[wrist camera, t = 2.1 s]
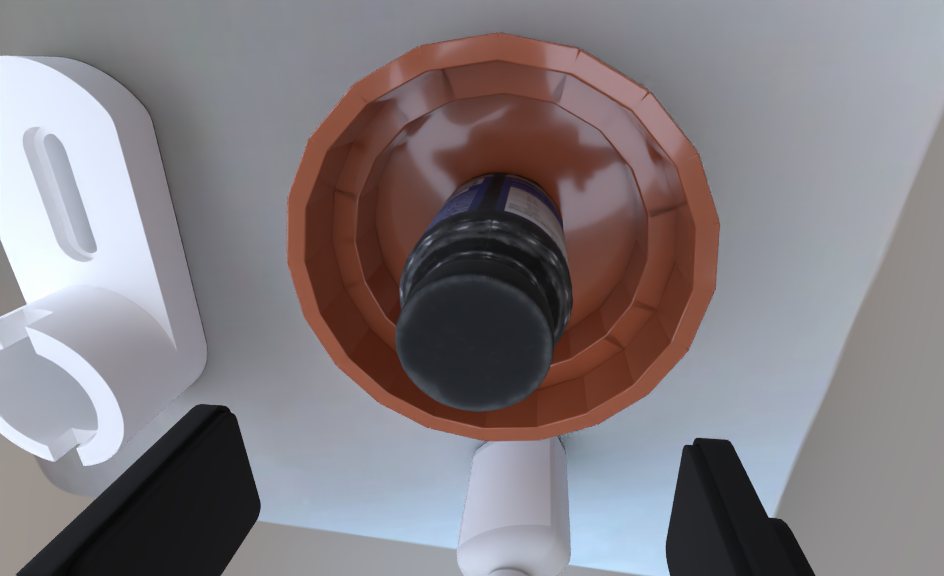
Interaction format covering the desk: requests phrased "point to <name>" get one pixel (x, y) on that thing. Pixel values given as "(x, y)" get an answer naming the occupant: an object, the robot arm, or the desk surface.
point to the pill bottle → (485, 295)
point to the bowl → (532, 156)
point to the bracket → (88, 264)
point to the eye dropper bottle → (516, 511)
